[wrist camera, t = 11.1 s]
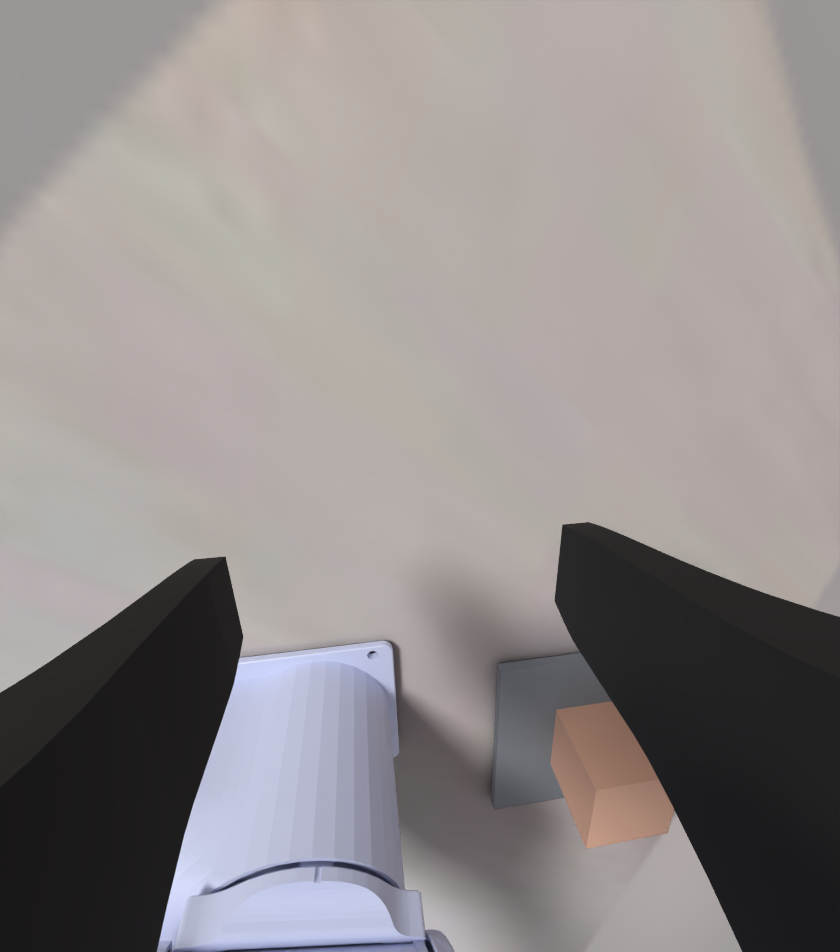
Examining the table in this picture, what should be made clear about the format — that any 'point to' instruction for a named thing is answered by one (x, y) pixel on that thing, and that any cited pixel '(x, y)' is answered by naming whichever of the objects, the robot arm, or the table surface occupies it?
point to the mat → (535, 723)
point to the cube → (607, 777)
